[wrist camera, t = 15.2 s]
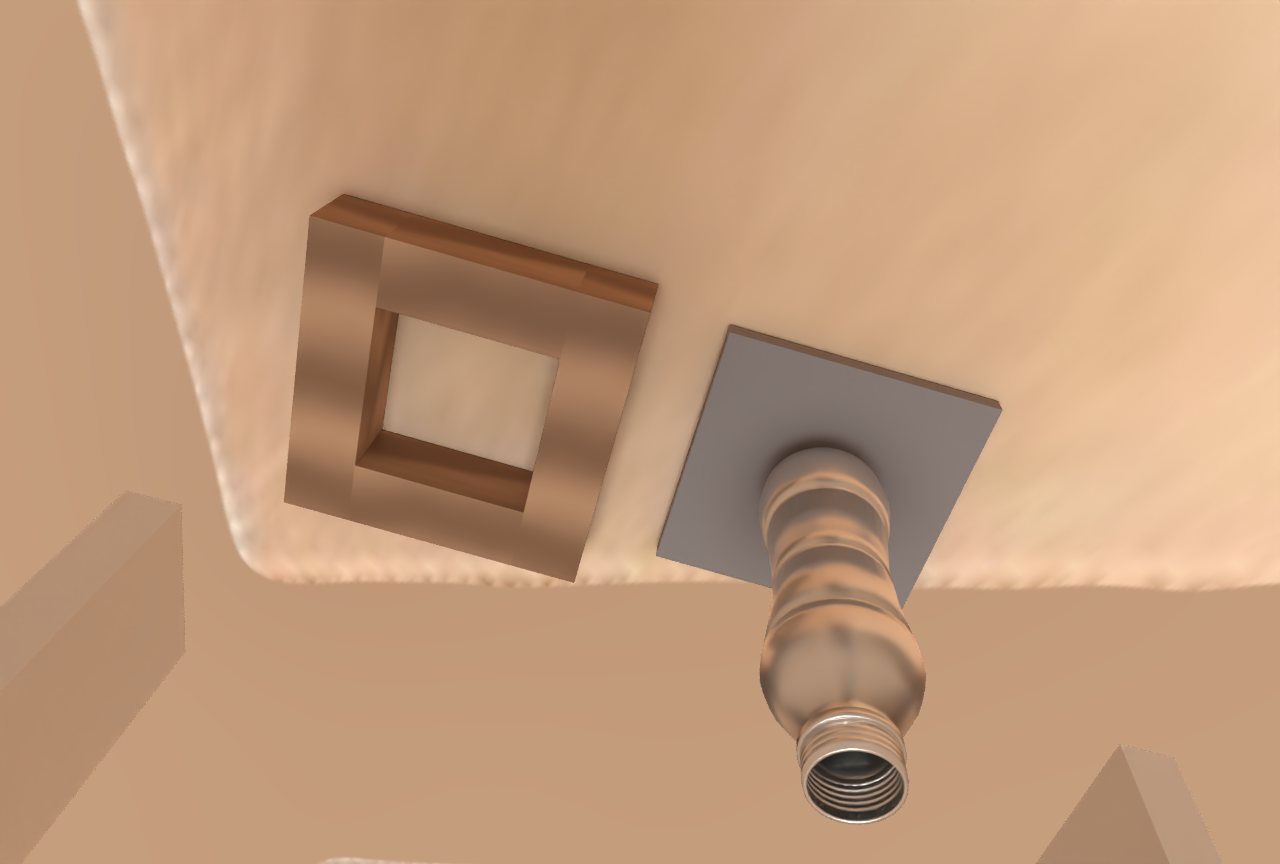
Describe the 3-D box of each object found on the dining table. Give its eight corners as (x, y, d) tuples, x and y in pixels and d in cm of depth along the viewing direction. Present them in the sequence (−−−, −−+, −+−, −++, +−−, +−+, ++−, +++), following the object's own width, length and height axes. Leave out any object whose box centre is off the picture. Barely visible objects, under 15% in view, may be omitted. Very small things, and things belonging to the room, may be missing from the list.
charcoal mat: (730, 324, 47) (729, 332, 47) (997, 401, 48) (1002, 410, 47) (657, 545, 54) (655, 555, 53) (892, 611, 54) (895, 622, 54)
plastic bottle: (795, 558, 52) (816, 875, 35) (734, 463, 50) (723, 752, 32) (905, 510, 50) (986, 823, 32) (847, 409, 48) (901, 687, 30)
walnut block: (343, 193, 46) (309, 215, 43) (658, 284, 47) (650, 312, 43) (314, 464, 54) (283, 502, 51) (586, 540, 54) (574, 582, 51)
